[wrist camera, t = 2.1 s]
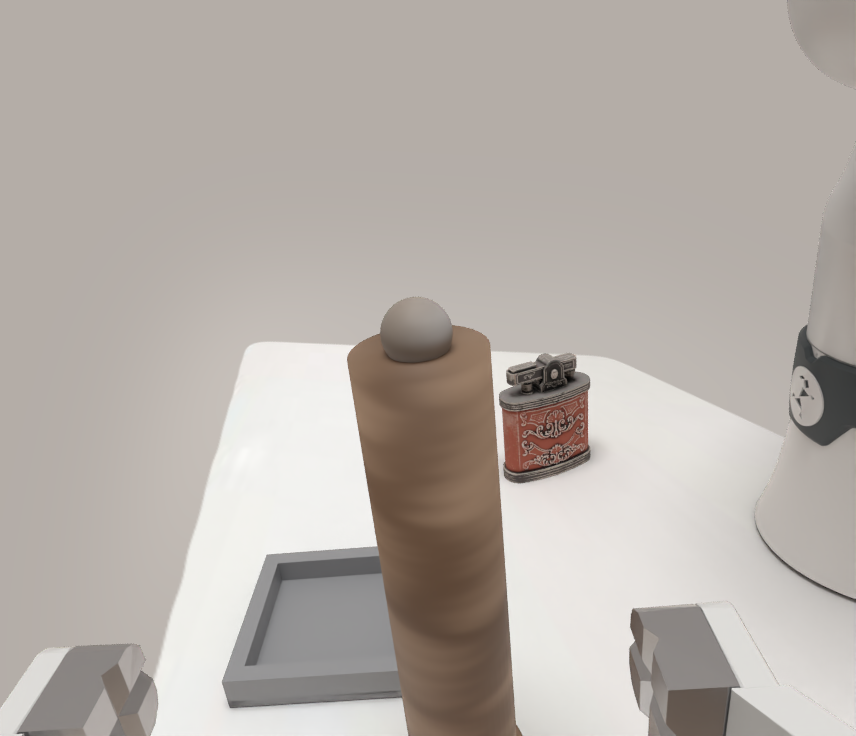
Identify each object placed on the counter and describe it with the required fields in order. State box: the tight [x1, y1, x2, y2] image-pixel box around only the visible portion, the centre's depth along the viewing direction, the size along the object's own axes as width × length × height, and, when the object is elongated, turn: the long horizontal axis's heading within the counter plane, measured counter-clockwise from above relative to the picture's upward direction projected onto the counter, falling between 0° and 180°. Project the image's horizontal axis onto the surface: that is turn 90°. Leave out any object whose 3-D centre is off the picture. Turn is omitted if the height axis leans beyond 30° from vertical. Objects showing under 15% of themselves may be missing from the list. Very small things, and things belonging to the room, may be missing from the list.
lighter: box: [499, 353, 590, 483], centre depth 55 cm, size 8×3×10 cm, turn 113°
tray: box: [222, 546, 402, 708], centre depth 41 cm, size 11×11×2 cm
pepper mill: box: [347, 297, 522, 736], centre depth 26 cm, size 6×6×25 cm
